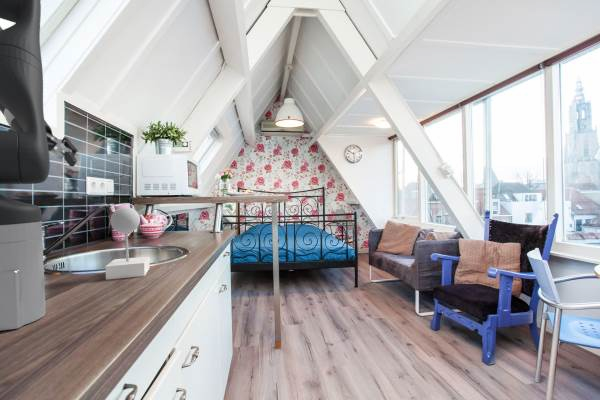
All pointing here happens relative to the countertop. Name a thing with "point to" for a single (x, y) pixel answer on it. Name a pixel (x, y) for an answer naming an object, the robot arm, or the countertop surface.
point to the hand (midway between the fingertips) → (56, 162)
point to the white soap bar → (127, 268)
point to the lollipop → (125, 223)
